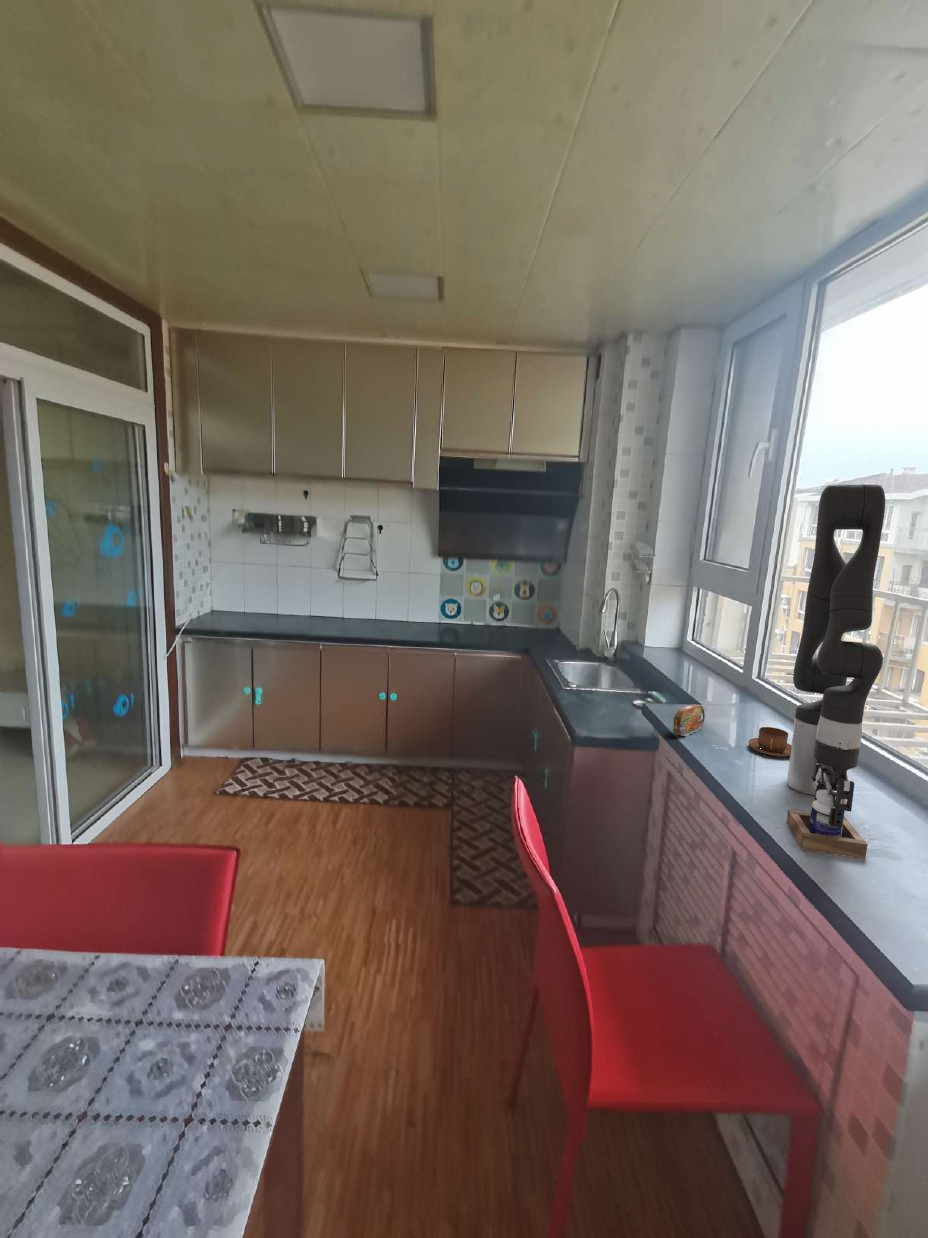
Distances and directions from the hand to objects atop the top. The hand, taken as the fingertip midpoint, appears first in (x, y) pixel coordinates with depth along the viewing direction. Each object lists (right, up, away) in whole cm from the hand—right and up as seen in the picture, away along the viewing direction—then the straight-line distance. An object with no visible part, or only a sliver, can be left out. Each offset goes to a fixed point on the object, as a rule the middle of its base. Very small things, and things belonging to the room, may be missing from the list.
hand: (827, 815), depth 120 cm
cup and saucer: (+14, +2, +48) cm, 50 cm away
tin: (-5, +5, +61) cm, 62 cm away
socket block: (0, -5, +1) cm, 5 cm away
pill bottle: (0, -5, +1) cm, 6 cm away
